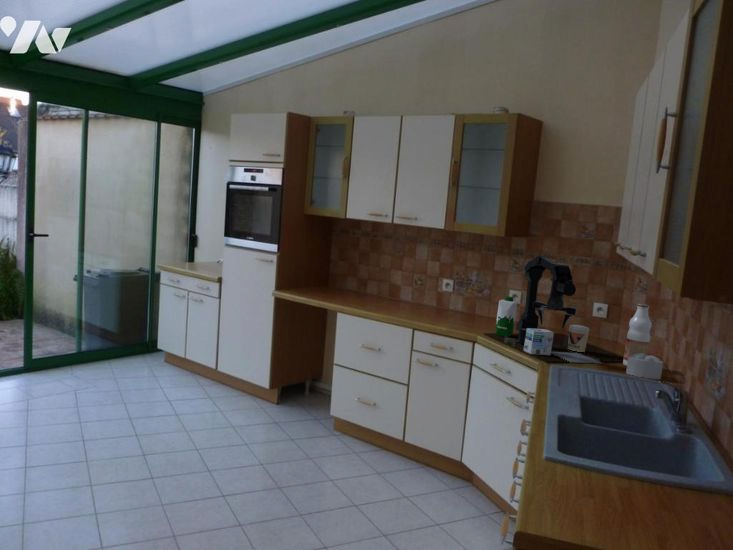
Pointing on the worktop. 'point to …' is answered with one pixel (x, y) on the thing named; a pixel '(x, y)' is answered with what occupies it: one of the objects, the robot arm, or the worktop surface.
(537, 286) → the robot arm
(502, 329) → the milk carton
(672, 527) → the worktop surface
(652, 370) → the lumpy-topped squat cylinder
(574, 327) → the coffee cup
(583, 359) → the mat
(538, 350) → the light bulb box
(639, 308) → the fruit juice
